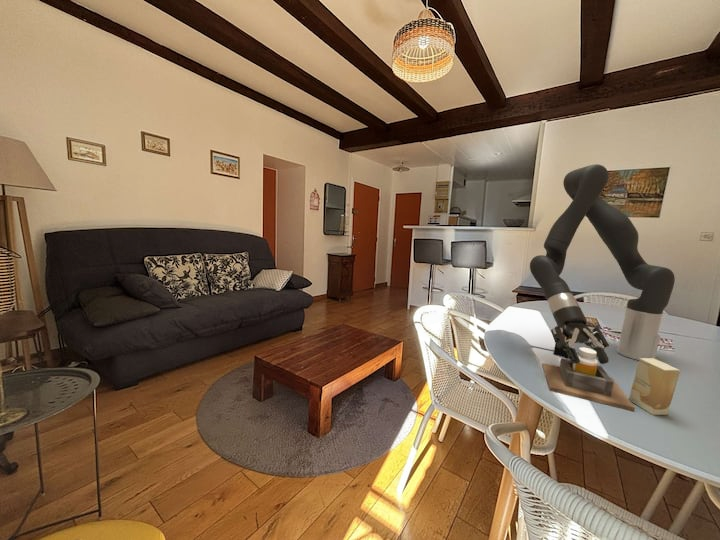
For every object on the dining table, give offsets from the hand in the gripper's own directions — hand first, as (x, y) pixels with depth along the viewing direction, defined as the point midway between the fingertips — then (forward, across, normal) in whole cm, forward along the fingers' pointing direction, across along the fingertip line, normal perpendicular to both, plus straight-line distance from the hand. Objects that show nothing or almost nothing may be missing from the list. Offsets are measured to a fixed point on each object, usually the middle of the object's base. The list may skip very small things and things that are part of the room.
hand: (590, 362), depth 81 cm
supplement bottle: (+4, 0, +6) cm, 7 cm away
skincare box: (+12, +9, 0) cm, 15 cm away
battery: (-10, +11, +21) cm, 25 cm away
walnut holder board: (+4, 0, +6) cm, 8 cm away
